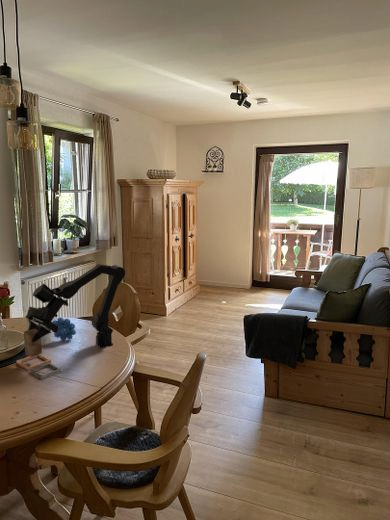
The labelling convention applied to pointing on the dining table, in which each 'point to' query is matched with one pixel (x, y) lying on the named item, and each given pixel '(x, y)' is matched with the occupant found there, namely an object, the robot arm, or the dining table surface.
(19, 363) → the terracotta socket
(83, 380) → the dining table surface
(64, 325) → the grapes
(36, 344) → the walnut plug block
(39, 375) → the grey metal socket
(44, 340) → the supplement box
